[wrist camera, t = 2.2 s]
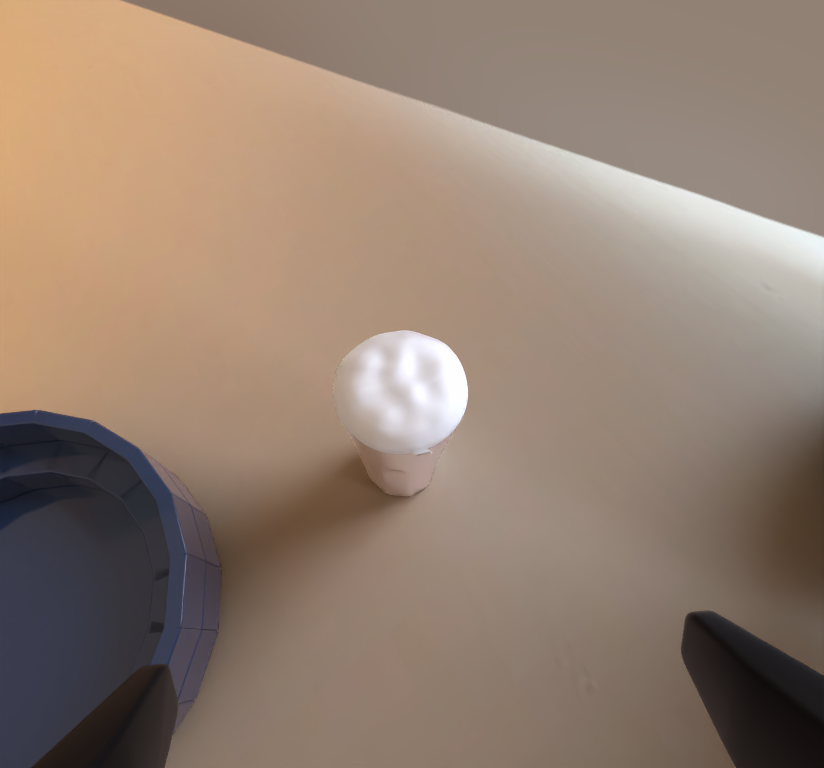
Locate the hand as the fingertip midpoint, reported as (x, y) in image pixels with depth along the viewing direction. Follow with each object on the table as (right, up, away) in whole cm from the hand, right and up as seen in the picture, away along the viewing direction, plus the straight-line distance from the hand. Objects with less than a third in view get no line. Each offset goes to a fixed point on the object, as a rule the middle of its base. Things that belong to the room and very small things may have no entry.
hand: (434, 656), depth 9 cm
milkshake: (-1, 0, +15) cm, 16 cm away
